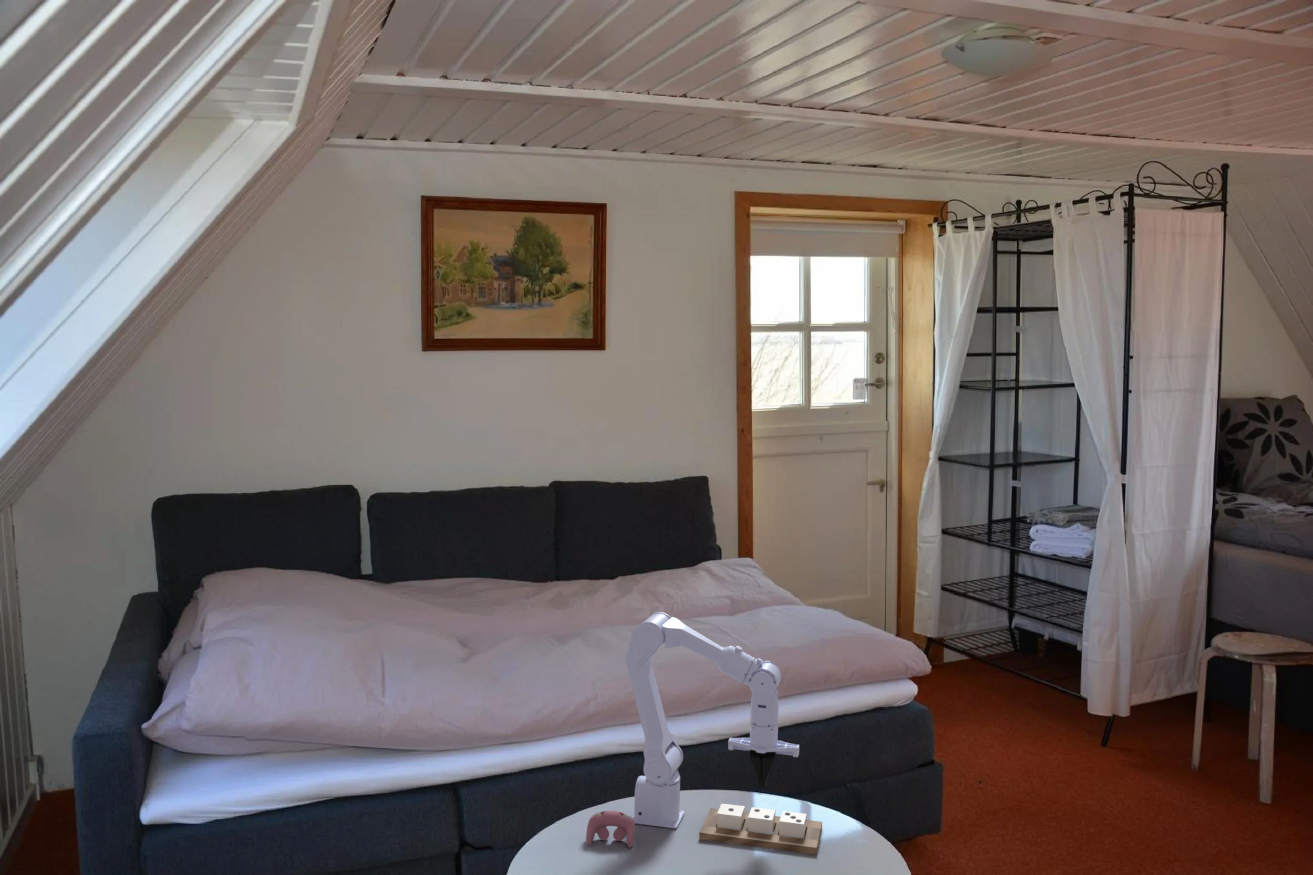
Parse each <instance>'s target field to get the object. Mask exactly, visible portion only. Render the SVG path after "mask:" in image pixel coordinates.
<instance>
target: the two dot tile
mask: <svg viewBox="0 0 1313 875" xmlns="http://www.w3.org/2000/svg"><path fill="white" fill-rule="evenodd" d="M749 813H750V814H749V816H748V832H756V833H763V834H771V835H773V833H774V826H775V816H776V810H775V809H769V808H763V807H762V808H761V807H752V806H751V809H750V811H749Z"/></svg>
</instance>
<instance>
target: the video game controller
mask: <svg viewBox="0 0 1313 875" xmlns="http://www.w3.org/2000/svg"><path fill="white" fill-rule="evenodd" d="M635 826H636V823H635V822H634V818H633V817H632V816H631V815H629V814H627V813H624V812H622V811H617V810H603V811H599V812H595V814H593V815H591V817H590V818H589V820H588V823H587V827H586V828H587V829H586V837H585V838H586V839H585V842H586V845H587V846H591V845H592V843H593V842H594V838H595V835H596V834H597V836H598V838H599V840H603V841H606V840H607V839H608V838H609V837H610V831H609V829H608V827H616V829H614V831H613V834H612V836H613V839H614V840H616V841H617V842H621V841H622V840H624V839H625V838H626V846H627V848H628V849H631V848H632V847H633V845H634V840H635V829H636V828H635Z"/></svg>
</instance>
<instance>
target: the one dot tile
mask: <svg viewBox="0 0 1313 875" xmlns="http://www.w3.org/2000/svg"><path fill="white" fill-rule="evenodd" d="M718 809H719V811H718V813H717V827H718V828H724V829H732V830H740V831H742V829H743V823H744V820H745V812H746V806H745V805H737V804H728V803H721V804H720V806H719V808H718Z"/></svg>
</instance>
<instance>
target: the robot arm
mask: <svg viewBox="0 0 1313 875" xmlns="http://www.w3.org/2000/svg"><path fill="white" fill-rule="evenodd" d="M628 644H629V645H628V647H627V651H626V654H625V664H626V668H627V671H628V672H627V673H628V675H629V680H630V683H631V688H632V690H633V696H634V699H635V704H636V709H637V711H638V712H637V713H638V715H639V719H640V724H641V727H642V731H643V734H644V744H643V756H644V763H643V773H644V774H643V775H639V776H637V779H636V782H635V787H634V808H633V809H634V814H633V815H634V818H633V819H634V822H635V825H636V824H637V825H644V826H651V827H652V826H653V827H661V828H666V829H667V828H668V829H677V828H678V826H679V825H680V823H681V821H682V819H683V817H684V815H685V811H684V810H681V808H680V806H681V805H680V802H681V801H680V796H681V775H680V772H679V768H680V766H681V765H682V763H683V761H684V753H683V750H682V749H681V747H680V745H679V744H678V743H677V742H676V738H675V736H674V734H673V733H672V732H671V731H670V730H669V726H668V723H667V719H666V715H665V710H664V707H663V702H662V699H661V694H660V691H659V687H658V682H657V679H656V676H655V670H654V667H653V662H652V659H653V657H654V656H656V655H655V654H656V653H657V652H658V650H660V649H659V648H661V646H662V645H663V644H664V649H671V648H676V647H677V648H678V647H683V648H685V649H687V650H689V651H692V652H694V653H696V654H697V655H700V656H702V657H704V658H707V659H708V660H711V661H713V662H715V665H716V666H717V669H718V671H720V672H721V673H723V674H725V675H727V676H729V677H730V678H732V679H733V680H736V681H738V682H740V683H742V684H744V685H745V686H746V685H747V686H748V688H749V690H750V692H751V698H750V716H749V717H750V720H749V721H750V723H749V724H750V726H749V737H729V739H728V741H727V742H728V744H727V745H728V747H727V750H729V751H734V750H738V751H740V750H741V751H746V752H747V751H748V752H749V755H748V756H749V761H750V763H751V765H752V766H753V769H754V771H755V775H756V778H757V783H758V784H757V785H758V788H762V789H765V788H766V787H767V783H768V778H769V774H770V770H771V768H772V766H773V765H774V762H775V760H776V757H777V755H785V756H792V757H793V758H798V757H799V755H800V744H796V743H789V742H785V741H783V740H778V739H779V738H778V737H779V736H778V735H779V688H778V686H779V684H780V683H781V680H782V672H781V669H780V668H779V666H778V665H777V664H775V663H774V662H772V660H771V661H770V660H763V659H761V657H758V658H756V657H753V656H752V655H750V654H748V653H746V652H745V651H742V650H743V647H741V646H739V645H736V647H735V646H733V645H729V646H724V647H723V646H721V645H720V644H718V643H716V642H715V641H713V640H711V639H709V638H708V637H707V636H704V635H703V634H701V633H700V632H698V631H697V630H695V629H694V628H691V627H689V626H688V625H686V624H685V623H683V622H682V621H681V620H680V619H679V618H677V617H674V616H672V617H671V616H670V615H669V614H668V613H665V612H663V611H657V612H654V613H652V614H651V615H649V617H648V618H647V619H645V620H644V621H643V622H641V623H640V624H639V625H637V627H636V628H635V629H634V630H633V631H632V633H631V634H630V641H629V643H628Z"/></svg>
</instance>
